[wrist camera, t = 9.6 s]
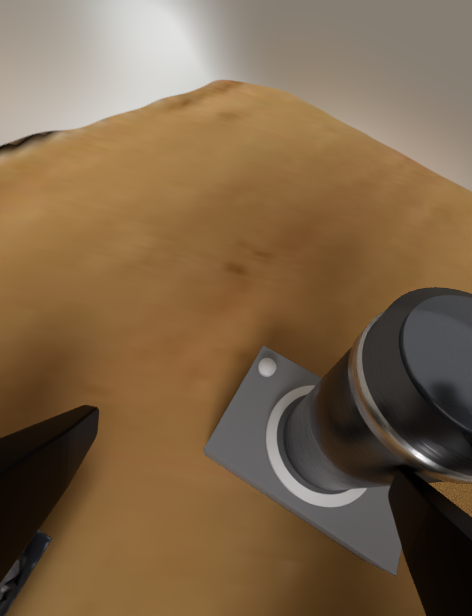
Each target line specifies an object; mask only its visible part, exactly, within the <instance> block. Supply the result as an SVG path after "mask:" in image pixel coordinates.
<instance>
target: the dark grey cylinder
mask: <svg viewBox="0 0 472 616" xmlns="http://www.w3.org/2000/svg"><path fill="white" fill-rule="evenodd" d="M283 443H284V449H285V452H286V455H287V458H288V460H289V462H290V464H291V466H292V467H293V469H294V470H295V471H296V473H297V474H298V475H299V476H300V477H301V478H302V479H304V480H305V481H306V482H307V483H309V484H311V485H312V486H314V487H317V488H320V489H323V490H331V491H335V490H347V489H359V488H372V487H384V486H391V483H392V481H393V478H394V475H395V473H396V471H397V470H399V469H402V470H407V471H411V472H414V473H415V474H417V475H418V476H419V477H420V478H422V479H423V480H424V481H426V482H427V483H433V482H451V483H456V484H472V294H470V293H467V292H463V291H459V290H455V289H449V288H437V287H435V288H423V289H417V290H414V291H411V292H408V293H406V294H404V295H402V296H401V297H399V298H398V299H397V300H396V301H394V302H393V304H392V305H391V306H390V307H389V308H388V309H387V310H386V311H384V312H382V313H380V314H379V315H378V316H376V317H375V318H374V319H373V320H372V321H371V322H370V323H369V324H368V326H367V327H366V328H365V329H364V330H363V331H362V332H361V333H360V334H359V335H358V337H357V338H356V340H355V342H354V343H353V346H352V347H351V348H350V350H349V351H348V352H347V353H346V354H345V355H344V356H343V357H342V358H341V359H340V360H339V361H338V362H337V363H336V365H335V366H334V367H333V368H332V369H331V370H330V371H329V372H328V373H327V374H326V375H325V376H324V377H323V378H322V379H321V381H320V382H319V383H318V384H317V385H316V386H315V387H314V388H313V389H312V390H311V391H310V392H309V393H308V394H307V396H306V397H305V398H304V399H303V400H302V401H301V402H300V403H299V404H298V405H297V406H296V407H295V408H294V409H293V411H292V412H291V413H290V415H289V416H288V418H287V420H286V423H285V426H284V431H283Z"/></svg>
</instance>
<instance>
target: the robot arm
mask: <svg viewBox="0 0 472 616" xmlns="http://www.w3.org/2000/svg"><path fill="white" fill-rule="evenodd" d="M98 418H99V409H98V408H97V407H94V406H89V405H83V406H80V407H78V408H75V409H73V410H70V411H68V412H65V413H63V414H60V415H58V416H55V417H53V418H50V419H47V420H45V421H42V422H40V423H37V424H35V425H32V426H30V427H27V428H25V429H22V430H20V431H17V432H15V433H12V434H10V435H7V436H5V437H2V438H0V583H1V582H2V580H3V579H4V578H5V576H6V575H7V573H8V572H9V570H10V569H11V568H12V566H13V565H14V563H15V562H16V560H17V559H18V558H19V556H20V555H21V553H22V552H23V551H24V549H25V548H26V546H27V545H28V543H29V542H30V541H31V539H32V538H33V536H34V535H35V533H36V532H37V531H38V529H39V528H40V526H41V525H42V523H43V522H44V521H45V519H46V518H47V516H48V515H49V513H50V512H51V511H52V509H53V508H54V506H55V505H56V503H57V502H58V501H59V499H60V498H61V496H62V495H63V493H64V492H65V490H66V489H67V487H68V485H69V484H70V482H71V480H72V479H73V477H74V475H75V473H76V472H77V470H78V468H79V466H80V464H81V463H82V461H83V459H84V457H85V456H86V454H87V452H88V450H89V449H90V447H91V445H92V443H93V442H94V440H95V438H96V435H97V430H98ZM388 500H389V504H390V507H391V511H392V514H393V518H394V521H395V525H396V529H397V532H398V536H399V539H400V543H401V546H402V550H403V553H404V556H405V559H406V562H407V565H408V568H409V571H410V573H411V576H412V579H413V581H414V584H415V587H416V589H417V592H418V595H419V597H420V600H421V603H422V605H423V608H424V610H425V613H426V616H472V517H471V516H469V515H468V514H467V513H465V512H464V511H463V510H462V509H460V508H459V507H458V506H456V505H455V504H454V503H453V502H451V501H450V500H449V499H447V498H446V497H445V496H444V495H442V494H441V493H440V492H438V491H437V490H436V489H435V488H433V487H432V486H431V485H429V484H428V483H427V482H426V481H424V480H423V479H422V478H420V477H419V476H418V475H417V474H415V473H414V472H411V471H407V470H402V469H399V470H397V471H396V473H395V475H394V478H393V481H392V483H391V486H390V488H389V491H388Z"/></svg>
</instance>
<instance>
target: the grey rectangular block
mask: <svg viewBox="0 0 472 616" xmlns="http://www.w3.org/2000/svg"><path fill="white" fill-rule="evenodd" d="M321 379H322V378H321V377H319V376H318V375H316V374H314V373H312V372H310V371H309V370H307V369H305V368H303V367H301V366H300V365H298V364H296V363H294V362H292V361H291V360H289V359H287V358H285V357H283V356H282V355H280V354H278V353H276V352H274V351H273V350H271V349H269V348H267V347H265V346H263V347H262V349H261V350H260V352H259V354H258V356H257V357H256V359H255V361H254V362H253V364H252V366H251V368H250V369H249V371H248V373H247V375H246V376H245V378H244V380H243V382H242V383H241V385H240V387H239V389H238V390H237V392H236V394H235V395H234V397H233V399H232V401H231V402H230V404H229V406H228V408H227V409H226V411H225V413H224V415H223V416H222V418H221V420H220V422H219V423H218V425H217V427H216V428H215V430H214V432H213V434H212V435H211V437H210V439H209V441H208V442H207V444H206V446H205V448H204V454H205V455H206V456H208V457H209V458H211V459H212V460H214V461H215V462H217V463H218V464H220V465H221V466H223V467H224V468H226V469H227V470H229V471H230V472H232V473H233V474H235V475H236V476H238V477H239V478H241V479H242V480H244V481H245V482H247V483H248V484H250V485H251V486H253V487H254V488H256V489H257V490H259V491H260V492H262V493H263V494H265V495H266V496H268V497H269V498H271V499H272V500H274V501H275V502H277V503H278V504H280V505H281V506H283V507H284V508H286V509H287V510H289V511H290V512H292V513H293V514H295V515H296V516H298V517H299V518H301V519H302V520H304V521H305V522H307V523H308V524H310V525H311V526H313V527H314V528H316V529H317V530H319V531H320V532H322V533H324V534H325V535H327V536H328V537H330V538H331V539H333V540H334V541H336V542H337V543H339V544H340V545H342V546H343V547H345V548H346V549H348V550H349V551H351V552H352V553H354V554H355V555H357V556H358V557H360V558H361V559H363V560H364V561H366V562H368V563H370V564H372V565H374V566H376V567H378V568H380V569H382V570H384V571H386V572H388V573H390V574H392V575H394V576H396V573H397V568H398V563H399V558H400V553H401V548H402V546H401V543H400V539H399V536H398V532H397V529H396V525H395V521H394V518H393V514H392V511H391V507H390V504H389V500H388V491H389V488H390V486H384V487H372V488H359V489H347V490H335V491H331V490H323V489H320V488H317V487H314V486H312V485H311V484H309V483H307V482H306V481H305V480H304V479H302V478H301V477H300V476H299V475H298V474H297V473H296V471H295V470H294V469H293V467H292V466H291V464H290V462H289V460H288V458H287V455H286V452H285V449H284V443H283V431H284V426H285V423H286V420H287V418H288V416H289V415H290V413H291V412H292V411H293V409H294V408H295V407H296V406H297V405H298V404H299V403H300V402H301V401H302V400H303V399H304V398H305V397H306V396H307V394H308V393H309V392H310V391H311V390H312V389H313V388H314V387H315V386H316V385H317V384H318V383H319V382H320V381H321Z"/></svg>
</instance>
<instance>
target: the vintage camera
mask: <svg viewBox="0 0 472 616" xmlns="http://www.w3.org/2000/svg"><path fill="white" fill-rule="evenodd" d="M51 539H52V538H51V537H50V536H48V535H46V534H45V533H43V532H41V531H40V530H38V531H37V532H36V533H35V535H34V536H33V538H32V539H31V541H30V542H29V543H28V545H27V546H26V548H25V549H24V551H23V552H22V553H21V555H20V556H19V558H18V559H17V560H16V562H15V563H14V565H13V566H12V568H11V569H10V570H9V572H8V573H7V575H6V576H5V578H4V579H3V580H2V582H1V583H0V616H5V614H6V613H7V611H8V610H9V608H10V606H11V605H12V603H13V601H14V600H15V598H16V597H17V595H18V593H19V592H20V590H21V588H22V587H23V585H24V584H25V582H26V580H27V579H28V577H29V575H30V574H31V572H32V571H33V569H34V567H35V566H36V564H37V562H38V561H39V559H40V558H41V556H42V554H43V553H44V551H45V550H46V548H47V546H48V545H49V543H50V542H51Z"/></svg>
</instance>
